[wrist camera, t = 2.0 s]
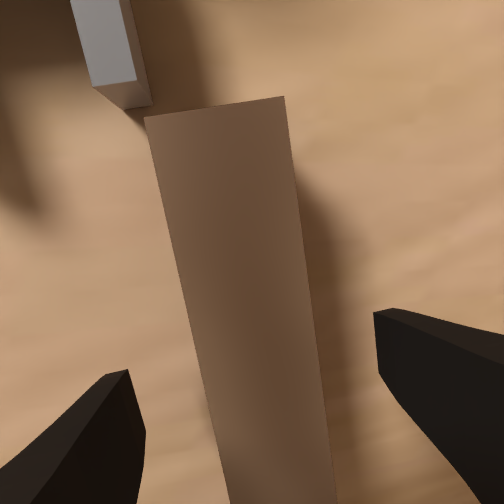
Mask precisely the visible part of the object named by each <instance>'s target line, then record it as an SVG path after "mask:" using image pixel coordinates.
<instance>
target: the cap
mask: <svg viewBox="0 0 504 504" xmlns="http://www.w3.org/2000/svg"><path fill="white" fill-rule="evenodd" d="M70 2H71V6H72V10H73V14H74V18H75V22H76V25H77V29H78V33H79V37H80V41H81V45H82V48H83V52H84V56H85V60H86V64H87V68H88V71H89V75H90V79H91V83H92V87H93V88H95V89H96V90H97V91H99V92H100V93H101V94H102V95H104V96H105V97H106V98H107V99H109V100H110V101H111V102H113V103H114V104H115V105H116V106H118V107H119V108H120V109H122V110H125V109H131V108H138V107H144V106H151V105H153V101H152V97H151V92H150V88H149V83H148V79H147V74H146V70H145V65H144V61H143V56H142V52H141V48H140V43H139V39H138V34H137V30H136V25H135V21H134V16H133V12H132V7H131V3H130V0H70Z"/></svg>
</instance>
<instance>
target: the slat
mask: <svg viewBox="0 0 504 504" xmlns="http://www.w3.org/2000/svg"><path fill="white" fill-rule="evenodd" d="M143 118H144V123H145V127H146V131H147V136H148V140H149V145H150V149H151V154H152V158H153V162H154V167H155V171H156V176H157V180H158V185H159V189H160V193H161V198H162V202H163V207H164V211H165V216H166V220H167V224H168V229H169V233H170V238H171V242H172V247H173V251H174V256H175V260H176V264H177V269H178V273H179V278H180V282H181V287H182V291H183V295H184V300H185V304H186V309H187V313H188V318H189V322H190V326H191V331H192V335H193V340H194V344H195V349H196V353H197V357H198V362H199V366H200V371H201V375H202V380H203V384H204V388H205V393H206V397H207V402H208V406H209V411H210V415H211V419H212V424H213V428H214V433H215V437H216V442H217V446H218V451H219V455H220V459H221V464H222V468H223V473H224V477H225V482H226V486H227V490H228V495H229V499H230V504H338V503H337V495H336V488H335V480H334V473H333V465H332V457H331V450H330V442H329V435H328V427H327V419H326V412H325V404H324V396H323V389H322V381H321V374H320V366H319V358H318V351H317V343H316V336H315V328H314V320H313V313H312V305H311V298H310V290H309V282H308V275H307V267H306V259H305V252H304V244H303V237H302V229H301V221H300V214H299V206H298V199H297V191H296V183H295V176H294V168H293V160H292V153H291V145H290V138H289V130H288V122H287V115H286V107H285V100H284V96H280V97H273V98H267V99H260V100H254V101H247V102H241V103H234V104H227V105H221V106H214V107H208V108H201V109H194V110H188V111H181V112H175V113H168V114H161V115H155V116H148V117H143Z"/></svg>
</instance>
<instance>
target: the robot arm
mask: <svg viewBox="0 0 504 504" xmlns="http://www.w3.org/2000/svg"><path fill="white" fill-rule="evenodd" d="M373 317H374V328H375V338H376V349H377V360H378V371H379V374H380V376H381V377H382V379H383V380H384V382H385V384H386V385H387V387H388V388H389V390H390V391H391V393H392V394H393V396H394V397H395V399H396V400H397V402H398V403H399V404H400V405H401V406H402V408H403V409H404V410H405V411H406V412H407V414H408V415H409V416H410V417H411V418H412V419H413V421H414V422H415V423H416V424H417V425H418V426H419V428H420V429H421V430H422V431H423V432H424V433H425V435H426V436H427V437H428V438H429V439H430V440H431V441H432V443H433V444H434V445H435V446H436V447H437V448H438V450H439V451H440V452H441V453H442V454H443V455H444V457H445V458H446V459H447V460H448V461H449V462H450V463H451V465H452V466H453V467H454V468H455V469H456V471H457V472H458V473H459V474H460V476H461V477H462V478H463V479H464V481H465V482H466V483H467V485H468V486H469V487H470V489H471V490H472V492H473V493H474V494H475V496H476V497H477V499H478V500H479V501H480V503H481V504H504V335H502V334H498V333H493V332H489V331H484V330H480V329H476V328H472V327H468V326H464V325H460V324H456V323H452V322H448V321H445V320H441V319H437V318H434V317H430V316H426V315H423V314H419V313H415V312H411V311H407V310H402V309H396V308H390V309H386V310H382V311H377V312H373ZM145 439H146V429H145V426H144V423H143V419H142V416H141V412H140V409H139V405H138V402H137V398H136V395H135V392H134V388H133V385H132V381H131V378H130V374H129V371H128V369H126V370H122V371H118V372H113V373H109V374H105V375H104V376H103V377H102V378H100V379H99V380H98V381H97V382H96V383H95V384H94V385H93V386H91V387H90V388H89V389H88V390H87V391H86V392H85V393H84V394H83V395H82V396H81V397H80V398H79V399H78V400H77V401H76V402H75V403H74V404H73V405H72V406H71V407H70V408H69V409H67V410H66V411H65V412H64V413H63V414H62V415H61V416H60V417H59V418H58V419H57V420H56V421H55V422H54V423H53V424H52V425H50V426H49V427H48V428H47V429H46V430H45V431H44V432H43V433H42V434H40V435H39V436H38V437H37V438H36V439H35V440H34V441H33V442H31V443H30V444H29V445H28V446H27V447H26V448H25V449H24V450H22V451H21V452H20V453H19V454H18V455H17V456H15V457H14V458H13V459H12V460H11V461H9V462H8V463H7V464H6V465H4V466H3V467H2V468H1V469H0V504H136V503H137V499H138V493H139V488H140V483H141V478H142V472H143V467H144V455H145Z"/></svg>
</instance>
